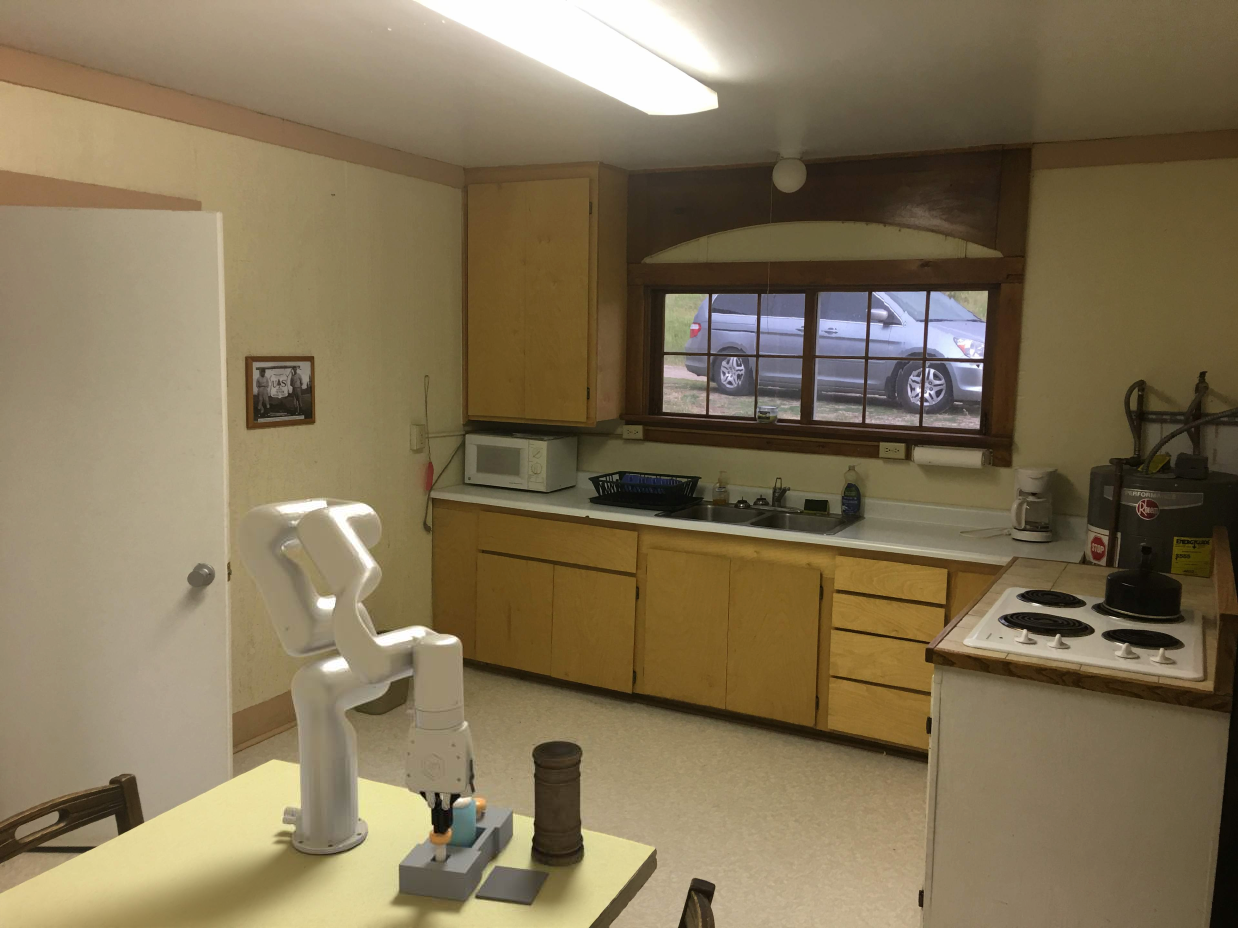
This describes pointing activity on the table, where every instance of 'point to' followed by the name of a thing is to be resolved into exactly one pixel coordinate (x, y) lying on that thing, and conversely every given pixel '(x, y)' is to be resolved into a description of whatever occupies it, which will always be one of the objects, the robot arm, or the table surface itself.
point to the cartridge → (463, 823)
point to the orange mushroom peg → (480, 806)
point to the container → (557, 803)
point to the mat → (512, 885)
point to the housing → (456, 860)
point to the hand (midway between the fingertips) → (442, 829)
